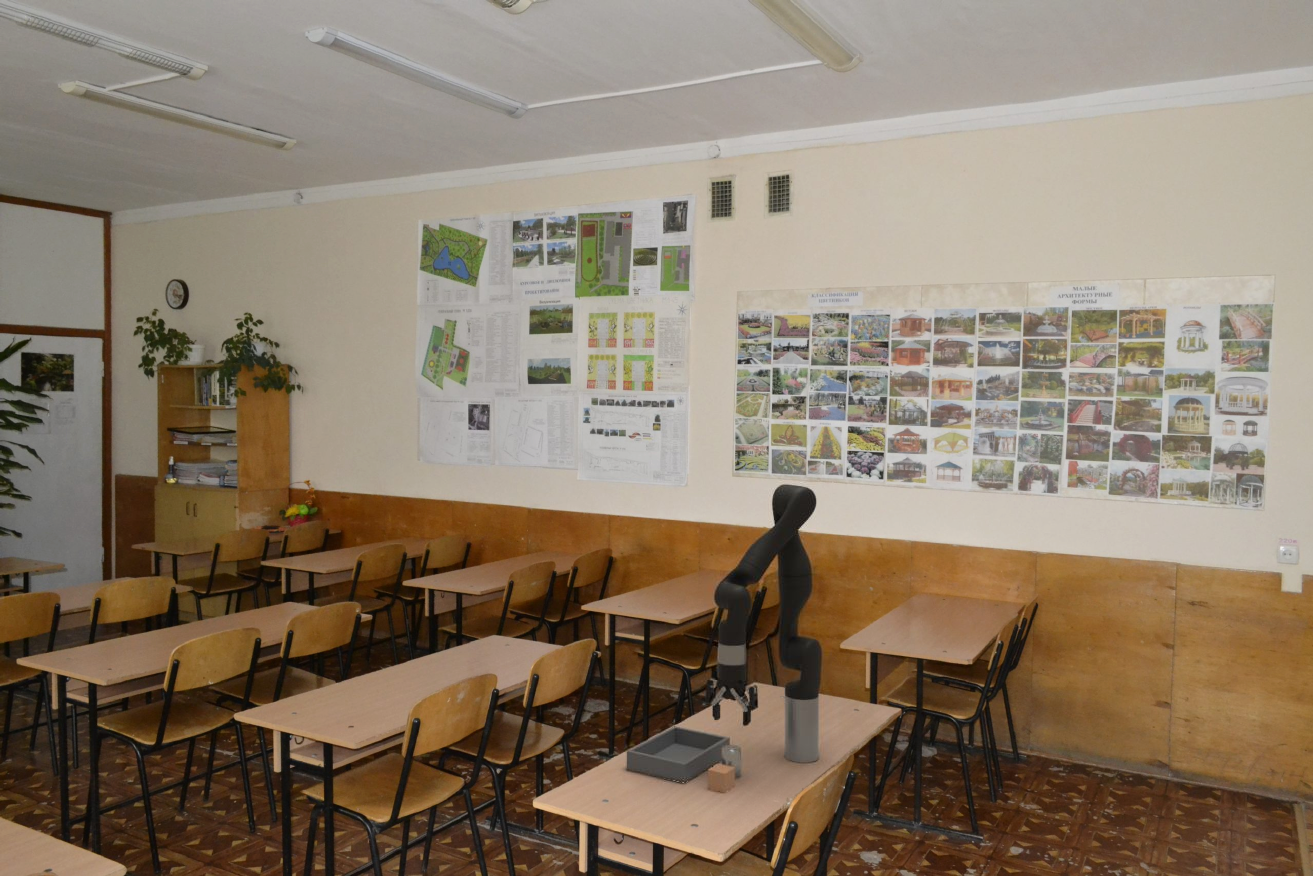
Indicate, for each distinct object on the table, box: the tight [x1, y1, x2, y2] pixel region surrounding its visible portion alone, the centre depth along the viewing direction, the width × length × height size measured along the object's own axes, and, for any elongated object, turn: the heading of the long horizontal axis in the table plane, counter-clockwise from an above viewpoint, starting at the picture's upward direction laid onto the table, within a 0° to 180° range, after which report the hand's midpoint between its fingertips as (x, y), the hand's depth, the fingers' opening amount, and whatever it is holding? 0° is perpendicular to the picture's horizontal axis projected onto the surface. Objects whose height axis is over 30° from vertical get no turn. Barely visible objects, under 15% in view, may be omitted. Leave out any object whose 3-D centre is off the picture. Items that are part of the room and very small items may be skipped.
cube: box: [707, 763, 736, 794], centre depth 239 cm, size 5×5×5 cm
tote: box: [626, 725, 731, 784], centre depth 256 cm, size 24×18×5 cm
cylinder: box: [721, 744, 742, 779], centre depth 247 cm, size 5×5×7 cm
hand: (731, 722), depth 247 cm, fingers open, 8 cm apart
